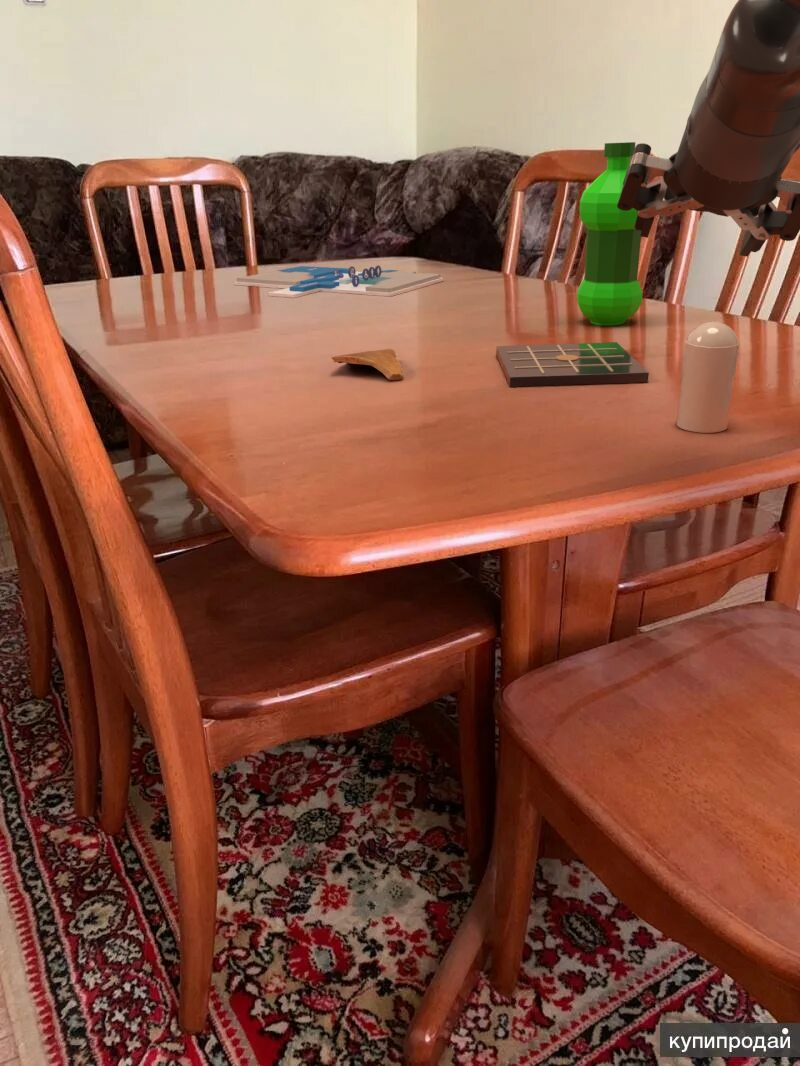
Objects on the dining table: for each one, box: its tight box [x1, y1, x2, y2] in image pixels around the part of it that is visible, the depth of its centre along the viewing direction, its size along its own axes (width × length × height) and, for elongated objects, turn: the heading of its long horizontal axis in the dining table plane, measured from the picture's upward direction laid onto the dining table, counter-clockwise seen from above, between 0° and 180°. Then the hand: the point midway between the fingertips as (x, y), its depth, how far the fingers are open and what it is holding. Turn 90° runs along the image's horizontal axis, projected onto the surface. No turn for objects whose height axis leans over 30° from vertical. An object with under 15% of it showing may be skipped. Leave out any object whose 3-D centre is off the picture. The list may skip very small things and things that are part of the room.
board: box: [495, 341, 650, 388], centre depth 103 cm, size 16×16×1 cm
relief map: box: [233, 265, 445, 299], centre depth 170 cm, size 30×40×4 cm
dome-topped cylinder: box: [675, 321, 740, 434], centre depth 79 cm, size 5×5×10 cm
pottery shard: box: [331, 348, 405, 381], centre depth 104 cm, size 10×9×2 cm
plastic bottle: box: [576, 141, 644, 327], centre depth 122 cm, size 10×10×25 cm
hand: (695, 236), depth 72 cm, fingers open, 8 cm apart
